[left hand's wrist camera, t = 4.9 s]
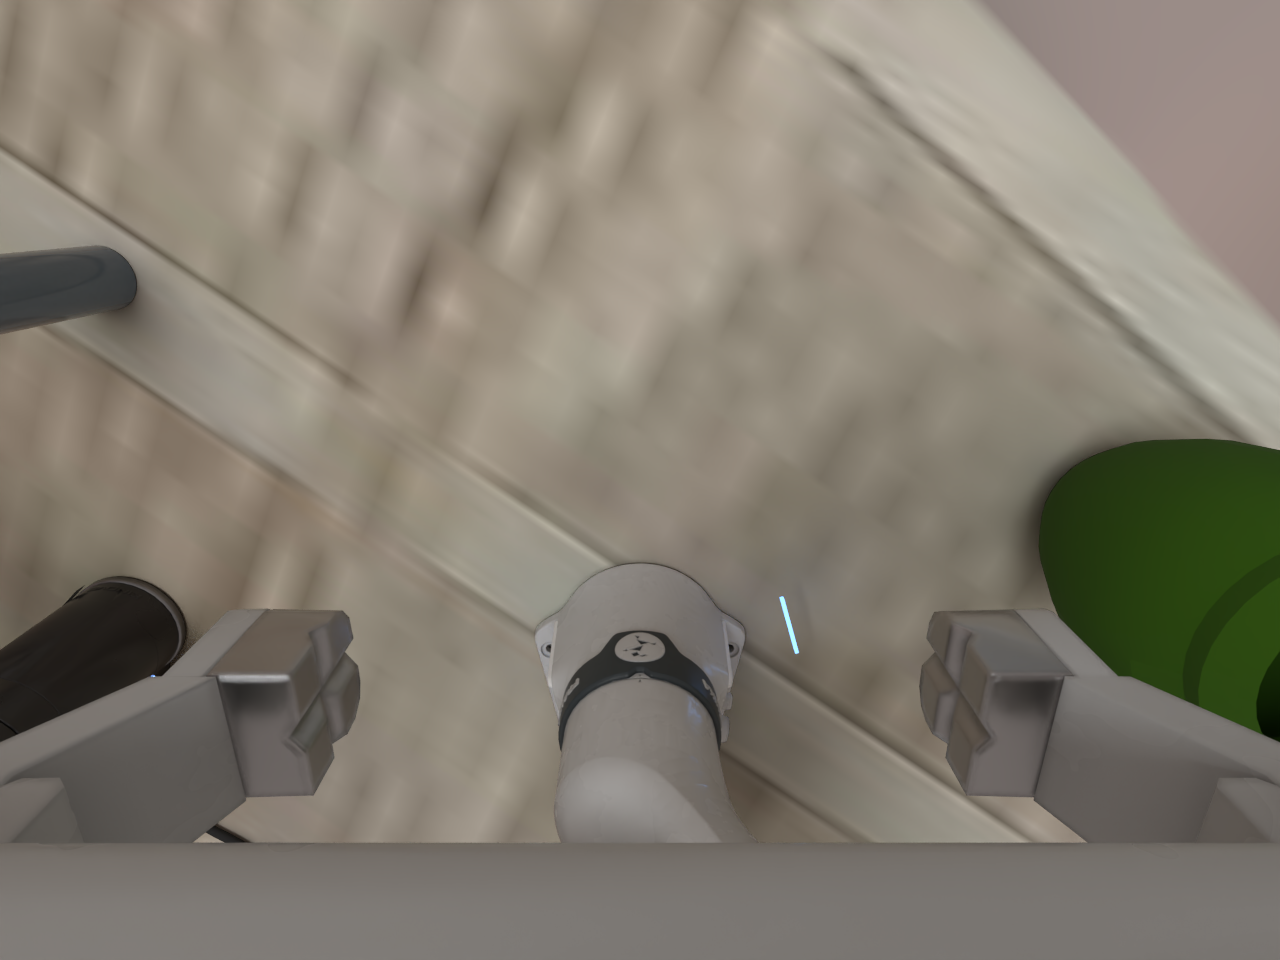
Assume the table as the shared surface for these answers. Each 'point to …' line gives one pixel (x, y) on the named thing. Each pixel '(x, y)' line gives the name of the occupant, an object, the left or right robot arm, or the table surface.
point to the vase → (1175, 570)
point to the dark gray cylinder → (61, 285)
